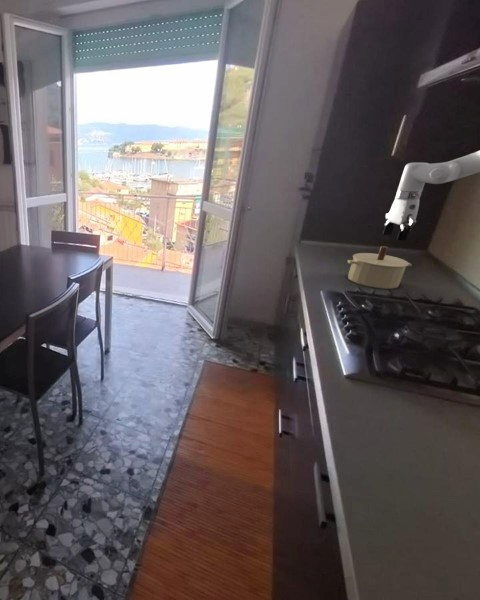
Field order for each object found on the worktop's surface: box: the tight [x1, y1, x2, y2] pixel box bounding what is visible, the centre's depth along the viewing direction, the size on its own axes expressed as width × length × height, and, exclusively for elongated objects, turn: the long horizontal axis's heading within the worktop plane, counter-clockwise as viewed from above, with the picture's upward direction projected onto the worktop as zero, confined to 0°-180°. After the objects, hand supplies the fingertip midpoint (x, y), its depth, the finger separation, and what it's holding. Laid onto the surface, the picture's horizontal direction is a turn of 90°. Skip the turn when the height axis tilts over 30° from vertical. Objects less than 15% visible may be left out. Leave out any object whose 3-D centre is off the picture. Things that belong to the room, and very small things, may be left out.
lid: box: [352, 245, 410, 268], centre depth 152 cm, size 19×19×7 cm
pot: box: [347, 257, 413, 290], centre depth 155 cm, size 18×23×10 cm
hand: (393, 237), depth 149 cm, fingers open, 9 cm apart
